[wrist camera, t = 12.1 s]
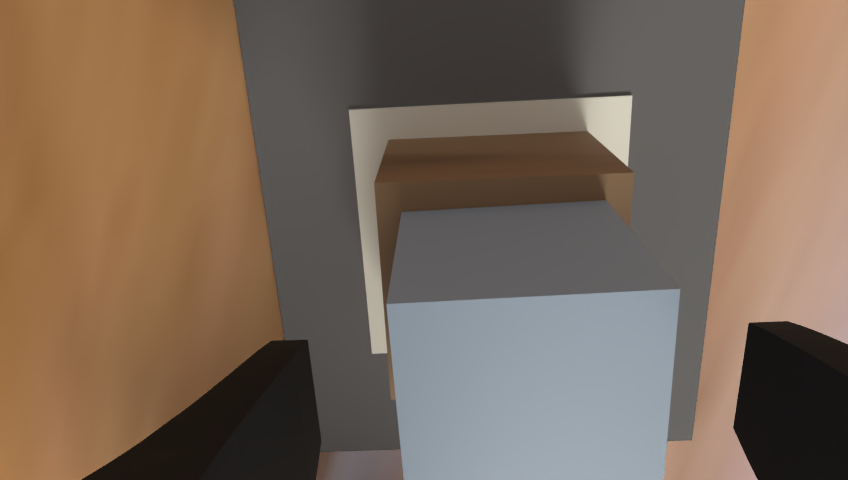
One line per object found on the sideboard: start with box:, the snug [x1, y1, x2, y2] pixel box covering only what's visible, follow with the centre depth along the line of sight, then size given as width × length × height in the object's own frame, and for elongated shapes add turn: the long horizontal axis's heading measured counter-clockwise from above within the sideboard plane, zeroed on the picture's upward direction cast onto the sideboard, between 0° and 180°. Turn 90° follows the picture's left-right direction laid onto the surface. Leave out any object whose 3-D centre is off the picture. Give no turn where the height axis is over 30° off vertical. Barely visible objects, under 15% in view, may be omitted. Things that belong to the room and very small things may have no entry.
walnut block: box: [374, 131, 634, 400], centre depth 15 cm, size 5×5×4 cm
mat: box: [233, 0, 745, 452], centre depth 17 cm, size 14×12×1 cm
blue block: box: [386, 200, 680, 480], centre depth 11 cm, size 4×4×4 cm
